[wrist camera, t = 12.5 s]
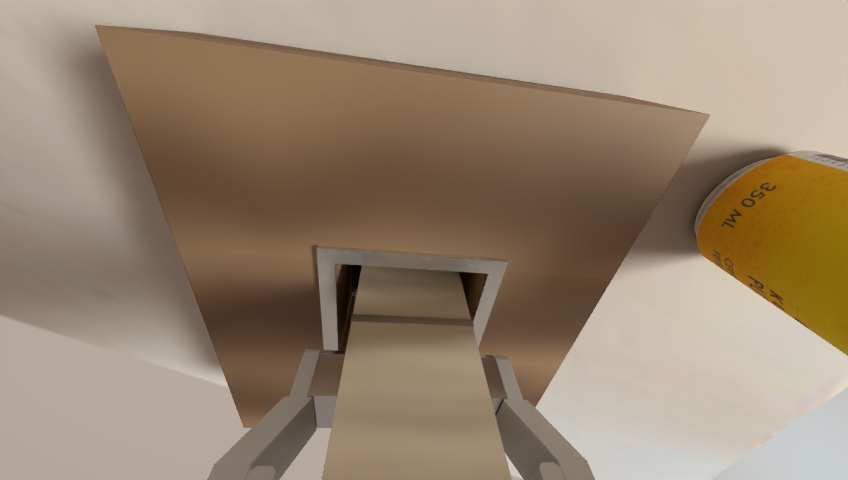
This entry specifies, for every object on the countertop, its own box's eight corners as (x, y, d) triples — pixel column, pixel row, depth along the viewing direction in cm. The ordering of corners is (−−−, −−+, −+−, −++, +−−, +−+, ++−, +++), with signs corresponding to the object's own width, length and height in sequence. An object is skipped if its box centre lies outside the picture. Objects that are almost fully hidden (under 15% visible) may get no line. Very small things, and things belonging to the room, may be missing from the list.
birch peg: (365, 243, 13) (281, 682, 4) (454, 249, 14) (559, 654, 5) (363, 308, 15) (305, 693, 6) (440, 312, 16) (492, 674, 7)
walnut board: (196, 33, 10) (86, 24, 7) (624, 96, 12) (716, 116, 9) (271, 362, 20) (242, 431, 16) (504, 368, 22) (523, 431, 18)
